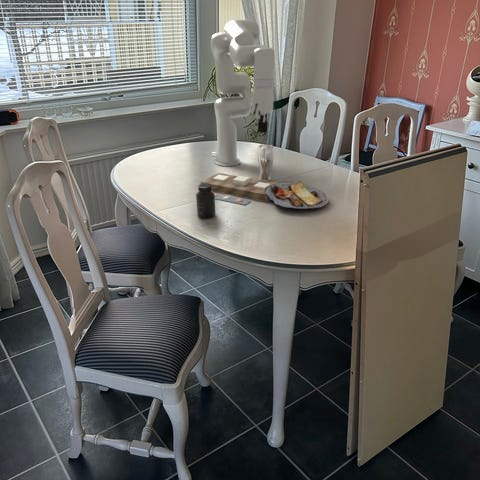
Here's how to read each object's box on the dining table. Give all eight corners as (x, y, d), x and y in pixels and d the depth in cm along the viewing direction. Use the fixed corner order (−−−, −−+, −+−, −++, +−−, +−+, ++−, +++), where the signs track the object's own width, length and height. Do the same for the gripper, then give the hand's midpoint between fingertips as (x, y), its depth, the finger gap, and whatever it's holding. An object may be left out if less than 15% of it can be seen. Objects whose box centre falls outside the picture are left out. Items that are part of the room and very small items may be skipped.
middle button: (232, 186, 197) (232, 179, 196) (239, 182, 201) (238, 175, 200) (243, 188, 195) (243, 181, 194) (249, 184, 199) (249, 177, 198)
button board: (200, 188, 201) (200, 181, 199) (218, 179, 212) (218, 172, 210) (267, 201, 187) (267, 194, 185) (282, 190, 197) (282, 184, 196)
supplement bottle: (206, 210, 179) (204, 180, 174) (219, 215, 175) (218, 184, 170) (193, 216, 175) (191, 185, 169) (206, 220, 171) (205, 190, 165)
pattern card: (202, 196, 192) (202, 195, 192) (209, 192, 196) (209, 191, 196) (245, 205, 183) (245, 204, 183) (251, 201, 187) (251, 199, 187)
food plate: (257, 188, 193) (258, 180, 191) (308, 184, 200) (309, 177, 199) (281, 216, 173) (282, 207, 171) (336, 211, 180) (338, 203, 179)
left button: (213, 184, 202) (212, 178, 201) (219, 181, 206) (219, 174, 205) (223, 186, 200) (223, 180, 199) (229, 183, 204) (229, 176, 203)
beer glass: (272, 182, 207) (273, 149, 200) (256, 181, 208) (257, 148, 202) (274, 177, 213) (275, 144, 207) (259, 176, 215) (259, 144, 208)
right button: (253, 192, 193) (253, 185, 192) (259, 188, 197) (259, 181, 196) (264, 194, 191) (265, 187, 190) (270, 190, 195) (270, 183, 194)
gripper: (263, 79, 182) (262, 126, 191) (245, 85, 171) (245, 135, 179) (281, 81, 179) (279, 128, 187) (263, 86, 167) (262, 137, 176)
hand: (262, 131), depth 183 cm, fingers closed
